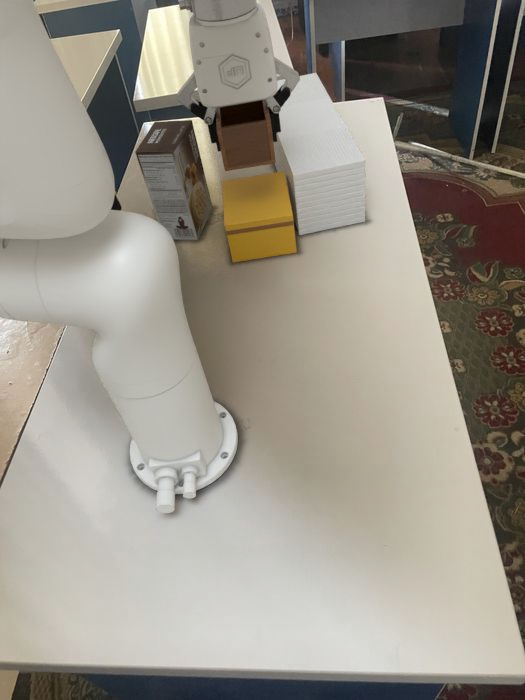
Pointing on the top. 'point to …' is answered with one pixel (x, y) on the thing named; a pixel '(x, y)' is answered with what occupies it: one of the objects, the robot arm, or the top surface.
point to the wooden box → (245, 135)
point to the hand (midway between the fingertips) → (246, 140)
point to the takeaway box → (258, 217)
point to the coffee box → (175, 178)
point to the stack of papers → (319, 160)
